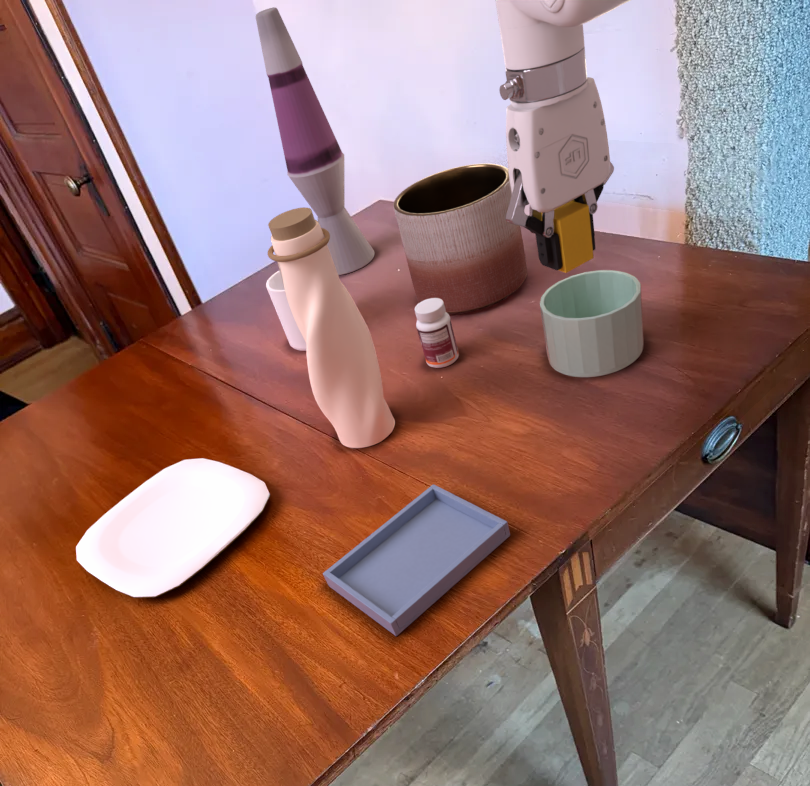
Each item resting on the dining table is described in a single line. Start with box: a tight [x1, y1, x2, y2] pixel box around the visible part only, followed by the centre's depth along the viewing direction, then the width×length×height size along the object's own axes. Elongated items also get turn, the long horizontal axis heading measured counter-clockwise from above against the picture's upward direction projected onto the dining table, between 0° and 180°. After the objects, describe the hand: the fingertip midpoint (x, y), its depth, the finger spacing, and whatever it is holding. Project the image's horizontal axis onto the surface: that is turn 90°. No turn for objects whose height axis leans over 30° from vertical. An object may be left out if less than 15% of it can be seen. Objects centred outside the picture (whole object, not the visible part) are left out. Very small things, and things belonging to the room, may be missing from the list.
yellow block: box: [541, 201, 594, 274], centre depth 83 cm, size 4×4×6 cm
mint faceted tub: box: [539, 269, 644, 378], centre depth 94 cm, size 12×12×8 cm
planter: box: [392, 163, 528, 315], centre depth 113 cm, size 18×18×16 cm
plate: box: [75, 457, 271, 599], centre depth 92 cm, size 22×22×2 cm
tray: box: [322, 483, 511, 637], centre depth 77 cm, size 16×11×2 cm
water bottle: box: [267, 207, 396, 449], centre depth 89 cm, size 10×9×28 cm
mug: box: [265, 270, 307, 352], centre depth 118 cm, size 13×10×10 cm
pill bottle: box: [414, 298, 460, 369], centre depth 102 cm, size 5×5×8 cm
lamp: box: [255, 6, 376, 276], centre depth 126 cm, size 11×11×40 cm
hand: (567, 256), depth 85 cm, fingers closed on yellow block, 4 cm apart
